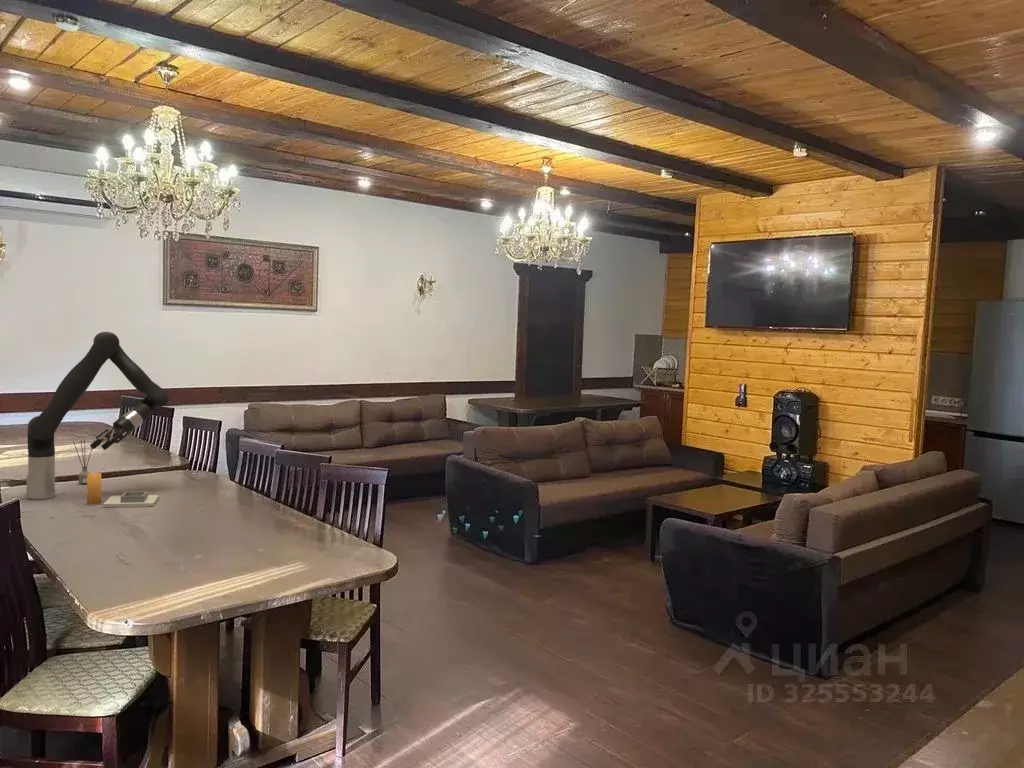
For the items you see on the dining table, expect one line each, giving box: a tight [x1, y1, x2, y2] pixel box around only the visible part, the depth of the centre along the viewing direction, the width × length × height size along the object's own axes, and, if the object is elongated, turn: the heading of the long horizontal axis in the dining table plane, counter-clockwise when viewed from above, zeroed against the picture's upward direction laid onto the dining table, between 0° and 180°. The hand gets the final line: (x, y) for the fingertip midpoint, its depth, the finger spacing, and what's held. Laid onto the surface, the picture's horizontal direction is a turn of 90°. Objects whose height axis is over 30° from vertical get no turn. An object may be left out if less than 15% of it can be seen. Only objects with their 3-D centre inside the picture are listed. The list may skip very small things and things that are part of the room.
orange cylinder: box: [86, 472, 102, 505], centre depth 301 cm, size 5×5×12 cm
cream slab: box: [102, 490, 160, 509], centre depth 304 cm, size 18×14×4 cm
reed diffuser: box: [72, 439, 96, 484], centre depth 334 cm, size 10×7×20 cm
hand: (97, 447), depth 306 cm, fingers open, 8 cm apart
